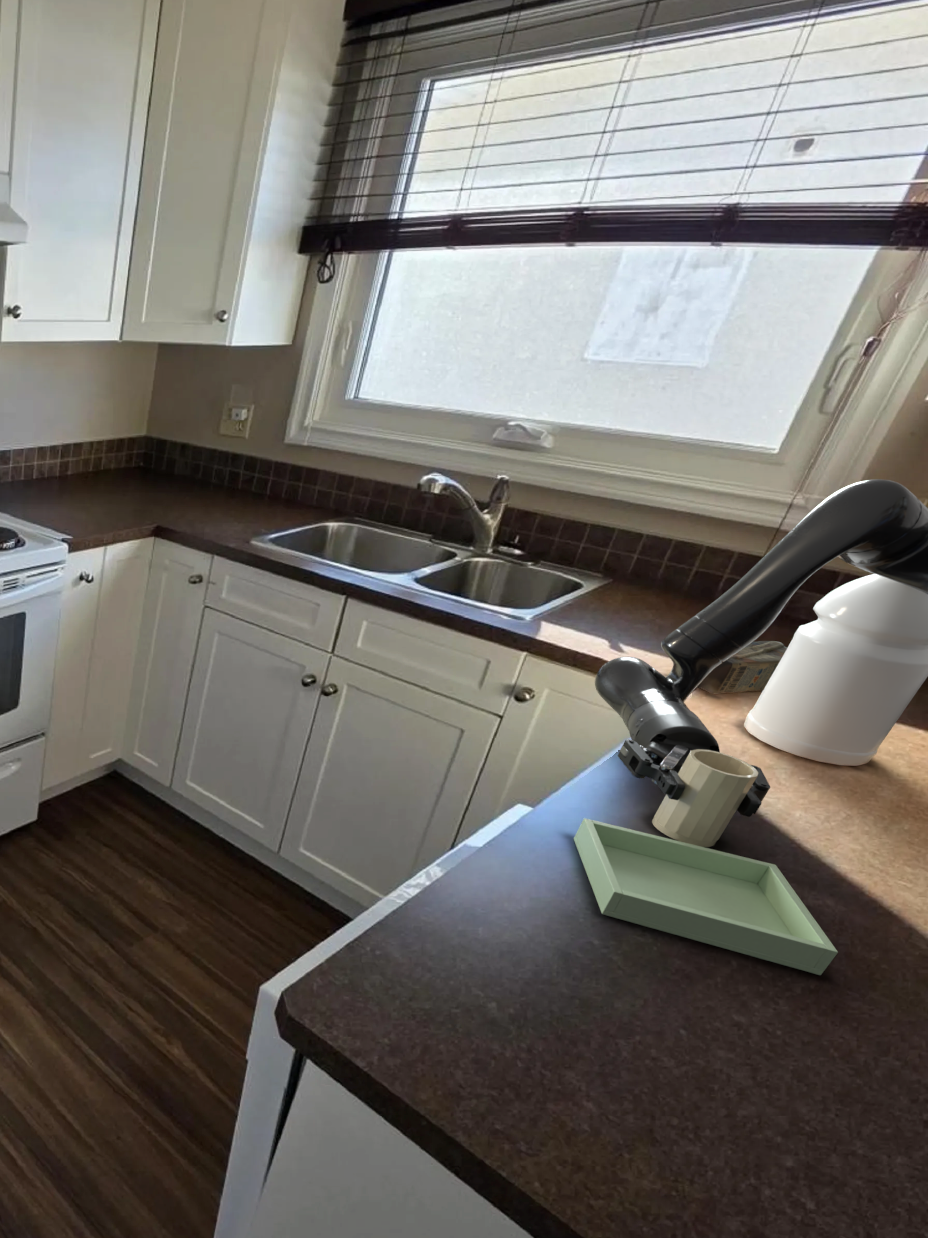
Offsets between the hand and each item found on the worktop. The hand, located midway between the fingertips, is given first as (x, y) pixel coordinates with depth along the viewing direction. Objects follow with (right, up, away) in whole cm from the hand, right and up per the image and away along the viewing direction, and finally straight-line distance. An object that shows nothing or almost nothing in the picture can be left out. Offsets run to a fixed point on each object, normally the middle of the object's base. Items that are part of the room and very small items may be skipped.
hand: (713, 801), depth 93 cm
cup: (+1, -4, +5) cm, 6 cm away
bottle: (+39, +5, +26) cm, 47 cm away
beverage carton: (+47, +14, +45) cm, 66 cm away
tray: (-10, -10, -7) cm, 15 cm away
